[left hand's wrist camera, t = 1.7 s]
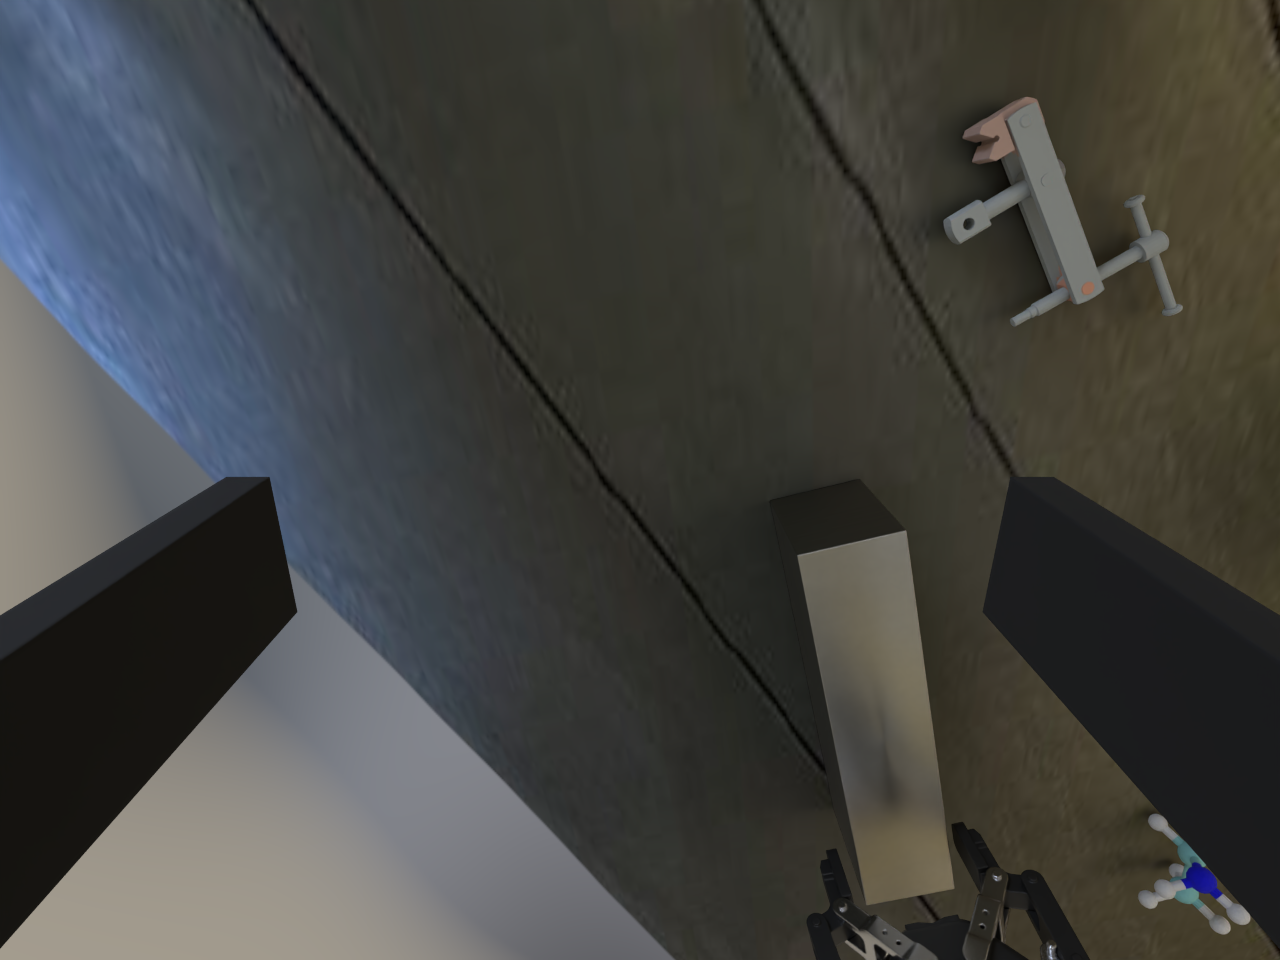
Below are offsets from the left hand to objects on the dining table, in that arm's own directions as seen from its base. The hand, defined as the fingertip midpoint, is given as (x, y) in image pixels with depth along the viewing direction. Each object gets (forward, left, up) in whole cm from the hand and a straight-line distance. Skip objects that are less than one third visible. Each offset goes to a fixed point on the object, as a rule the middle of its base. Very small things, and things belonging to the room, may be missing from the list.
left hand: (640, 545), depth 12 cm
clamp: (-20, +13, -30) cm, 38 cm away
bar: (+6, +27, -30) cm, 41 cm away
